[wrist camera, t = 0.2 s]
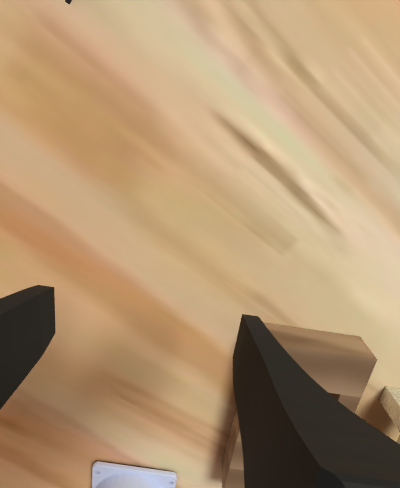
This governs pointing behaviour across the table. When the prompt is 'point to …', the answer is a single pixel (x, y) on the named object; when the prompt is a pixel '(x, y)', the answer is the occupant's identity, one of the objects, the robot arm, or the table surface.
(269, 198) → the table surface
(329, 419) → the robot arm
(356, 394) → the walnut mortise block
